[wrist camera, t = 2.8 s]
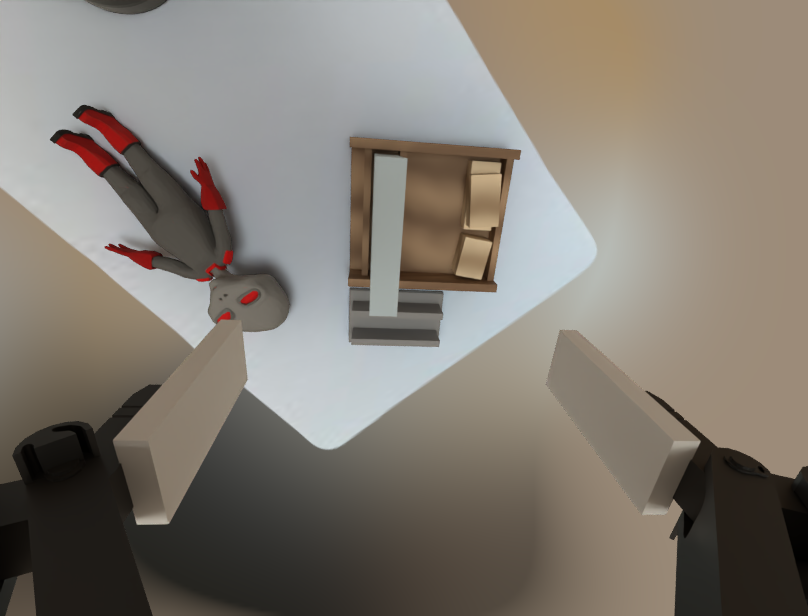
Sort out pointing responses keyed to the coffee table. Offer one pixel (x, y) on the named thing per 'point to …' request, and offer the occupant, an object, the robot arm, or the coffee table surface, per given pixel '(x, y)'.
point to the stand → (396, 320)
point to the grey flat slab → (387, 233)
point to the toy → (178, 225)
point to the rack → (424, 212)
